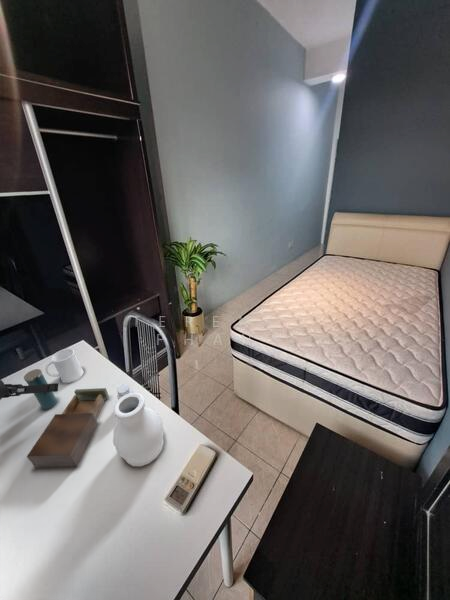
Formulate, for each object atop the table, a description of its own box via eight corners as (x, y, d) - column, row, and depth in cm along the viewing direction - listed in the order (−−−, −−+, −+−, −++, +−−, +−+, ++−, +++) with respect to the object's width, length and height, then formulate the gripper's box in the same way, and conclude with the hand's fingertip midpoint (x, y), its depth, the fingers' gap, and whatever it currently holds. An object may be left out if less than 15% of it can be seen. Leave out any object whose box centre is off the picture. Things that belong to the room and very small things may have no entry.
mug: (52, 390, 100) (40, 368, 94) (53, 376, 107) (42, 355, 101) (84, 378, 105) (74, 356, 99) (83, 366, 111) (74, 345, 106)
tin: (42, 403, 94) (24, 373, 87) (57, 397, 97) (41, 367, 89) (42, 413, 90) (23, 382, 83) (58, 406, 93) (40, 375, 85)
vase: (138, 482, 68) (120, 439, 59) (111, 452, 76) (90, 409, 67) (176, 441, 78) (165, 398, 69) (148, 418, 86) (135, 377, 77)
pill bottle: (129, 397, 95) (124, 380, 91) (139, 402, 92) (133, 385, 88) (118, 407, 91) (111, 390, 87) (127, 413, 88) (121, 396, 84)
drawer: (81, 395, 96) (77, 386, 93) (110, 394, 95) (107, 385, 93) (61, 428, 84) (55, 419, 81) (94, 427, 83) (89, 418, 81)
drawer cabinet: (62, 426, 85) (55, 414, 82) (98, 425, 85) (92, 412, 82) (36, 469, 73) (26, 456, 70) (77, 467, 73) (70, 454, 70)
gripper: (-68, 409, 67) (2, 401, 88) (22, 405, 67) (71, 397, 87) (-60, 380, 69) (6, 378, 90) (27, 376, 69) (74, 375, 89)
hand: (38, 388), depth 88 cm, fingers open, 13 cm apart
